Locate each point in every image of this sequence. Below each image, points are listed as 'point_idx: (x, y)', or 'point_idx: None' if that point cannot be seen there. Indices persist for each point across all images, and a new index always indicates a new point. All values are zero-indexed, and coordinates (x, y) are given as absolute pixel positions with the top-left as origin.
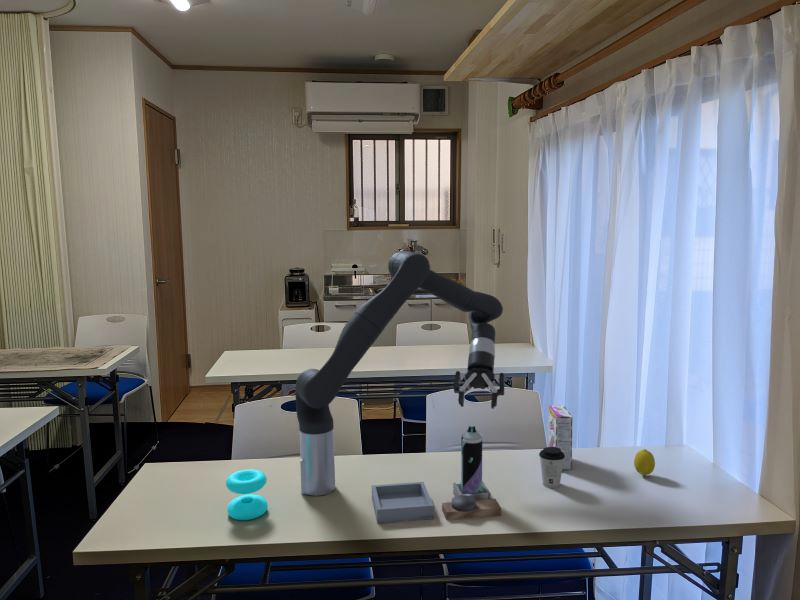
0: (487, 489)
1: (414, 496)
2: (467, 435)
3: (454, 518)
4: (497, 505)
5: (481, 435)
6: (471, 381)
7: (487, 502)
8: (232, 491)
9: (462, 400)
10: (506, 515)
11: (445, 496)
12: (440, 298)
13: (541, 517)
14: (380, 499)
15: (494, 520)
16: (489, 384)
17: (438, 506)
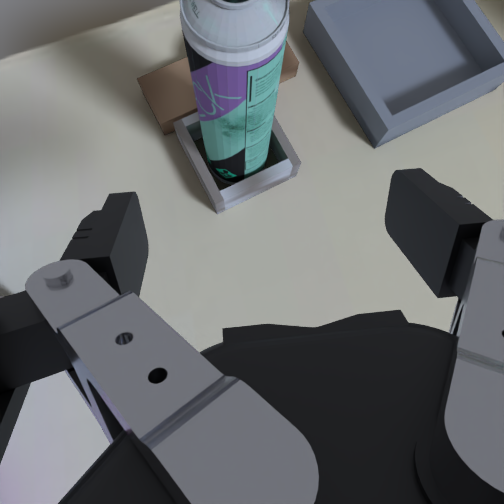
0: (187, 147)
1: (388, 102)
2: None
3: None
4: (148, 87)
5: (184, 14)
6: (462, 323)
7: (178, 97)
8: None
9: (412, 177)
10: (128, 96)
11: (311, 153)
12: None
13: (37, 110)
14: (465, 63)
15: (155, 64)
16: (119, 306)
17: (311, 94)
